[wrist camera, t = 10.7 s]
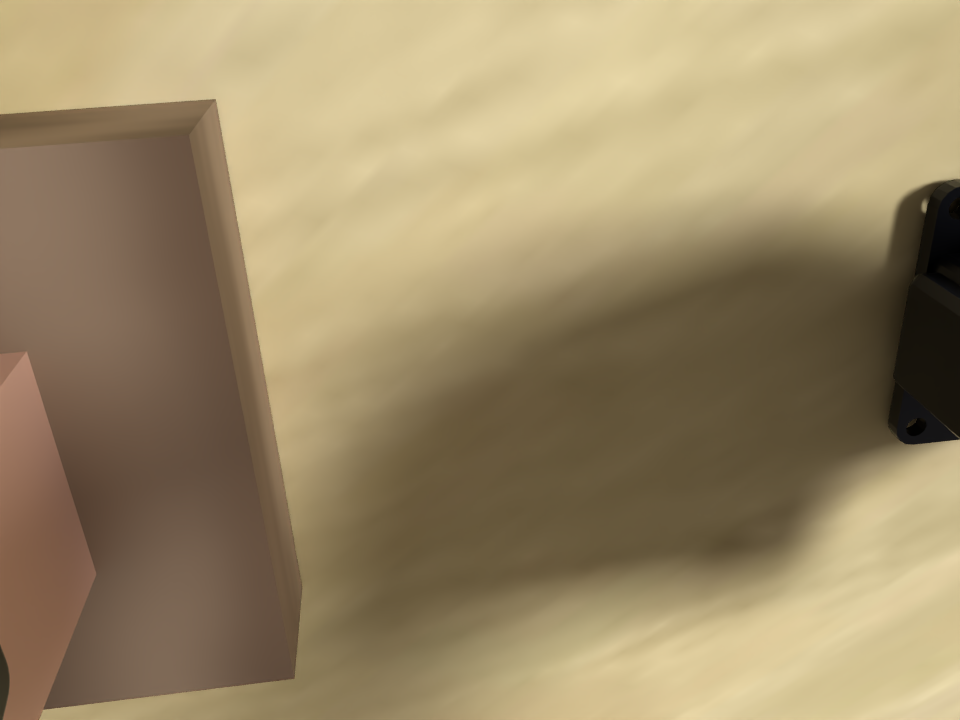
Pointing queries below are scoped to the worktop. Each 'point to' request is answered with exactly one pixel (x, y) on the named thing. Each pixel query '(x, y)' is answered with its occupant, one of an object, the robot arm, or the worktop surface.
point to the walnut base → (150, 396)
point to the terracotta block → (35, 545)
